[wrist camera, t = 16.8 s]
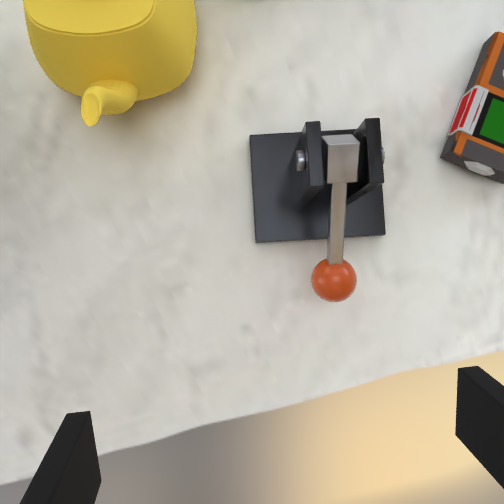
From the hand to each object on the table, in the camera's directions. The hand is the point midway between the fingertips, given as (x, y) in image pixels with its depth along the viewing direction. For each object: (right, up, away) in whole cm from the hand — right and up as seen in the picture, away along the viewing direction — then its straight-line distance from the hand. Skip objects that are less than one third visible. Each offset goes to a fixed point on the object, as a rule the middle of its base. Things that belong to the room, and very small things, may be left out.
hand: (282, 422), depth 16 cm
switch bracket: (+5, +12, +27) cm, 30 cm away
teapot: (-13, +24, +27) cm, 39 cm away
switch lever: (+5, +9, +20) cm, 22 cm away
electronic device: (+22, +20, +28) cm, 41 cm away
